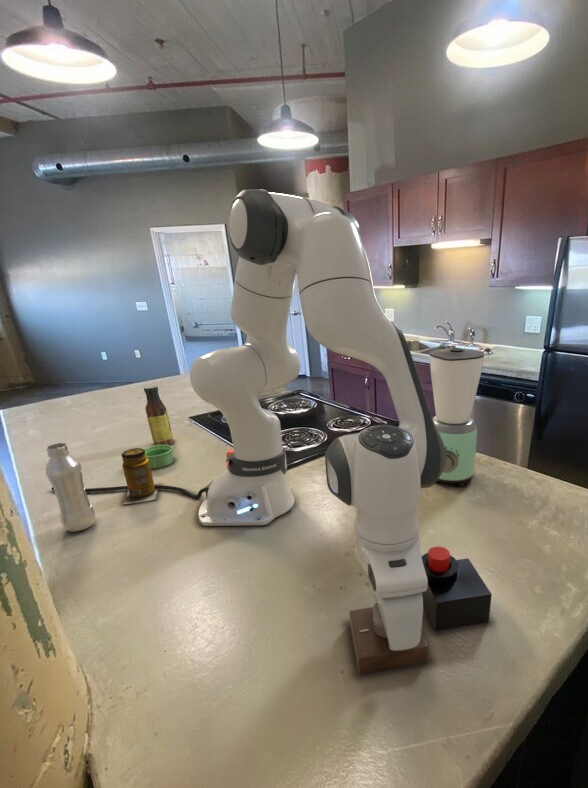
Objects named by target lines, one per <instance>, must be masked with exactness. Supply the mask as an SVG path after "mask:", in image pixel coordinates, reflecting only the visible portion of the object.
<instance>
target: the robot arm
mask: <svg viewBox="0 0 588 788" xmlns="http://www.w3.org/2000/svg"><path fill="white" fill-rule="evenodd" d="M228 234H229V235H228V236H229V240H230V243H231V246H232V248H233V250H234V251H235V252H236V254H237V255H238V260H237V265H236V270H235V274H234V275H235V276H234V284H233V288H232V289H233V290H232V297H231V303H230V304H231V305H230V310H229V311H230V317H231V320H232V322H233V324H234V325H235V327H236V328H237V329H238V330H240V331H241V332H243V333H244V334H246V341H245V342H244V344H242V345H238V346H232V347H227V348H220V349H215V350H213V351H210V352H208V353H205V354H202V355H201V356H198V357H196V358H195V360H194V361H193V362H192V364H191V367H190V372H189V381H190V384H191V386H192V390H193V391H194V393H195V394H196V395H197V396H198V397H199V398H200V400H202V401H204V402H205V403H208V405H209V404H210V405H212V406H213V407H214V408H216V409H217V410H218V411H219V412H220V413H221V414H222V416H223V417H224V418H225V421H226V422H227V425H228V427H229V432H230V436H231V440H232V441H231V442H232V447H233V448H232V449H231V448H230V449H228V450H227V452H226V455H225V457H226V460H225V462H226V463H225V464H226V468H227V469H226V470H225V471H223V472H222V473H221V474H220V475H218V476H217V477H215V478H214V479H213V480H211V481H210V482H209V483H208V484H207V485H206V486H204V487H203V488H201V489H199V491H198V493H197V494H194V493H192V492H190V491H188V490H186V489H184V488H182V487H177V486H173V485H163V484H154V486H155V489H158V490H169V491H175V492H180V493H183V494H184V495H185V496H187V497H190V498H192V499H196V500H197V499H200V498H201V497H202V495H203V493H205V499H204V500H203V501H202V503H201V504H200V506H199V509H198V516H197V517H198V522H199V524H200V525H202V526H204V527H225V526H228V527H229V526H231V527H232V526H233V527H234V526H236V527H237V526H238V527H239V526H266V525H268V524H270V523H271V522H272V521H273V520H274V519H275V518H278V517H281V516H282V515H285V514H286V513H287V512H288V511H290V510H291V509H292V508H293V507H294V505H295V502H296V500H295V499H296V498H295V497H294V495H293V492H292V489H291V487H290V484H289V479H288V474H287V470H288V463H287V454H286V450H285V448H284V446H283V435H282V427H281V421H280V419H279V417H278V416H277V414H275V413H274V412H273V411H270V410H269V409H266V408H262V406H261V404H260V403H261V402H260V401H259V396H260V395H261V394H265V393H268V392H272V391H274V390H279V389H281V388H283V387H285V386H287V385H288V384H290V383H292V382H293V381H295V380H296V379H297V378H298V376H299V374H300V372H301V371H300V370H301V361H300V357H299V354H298V352H297V351H296V349H295V348H294V347H293V346H292V345H291V344H290V342H289V339H288V333H287V332H288V331H287V328H288V322H289V315H290V310H291V306H292V301H293V296H294V291H295V286H296V281H297V288H298V294H299V301H300V308H301V311H302V312H301V313H302V317H303V320H304V324H305V327H306V329H307V331H308V334H310V336H311V337H312V338H313V340H315V341H316V342H317V343H318V344H319V345H321V346H323V347H324V348H326V349H327V350H328V351H331V352H333V353H335V354H339V355H342V356H345V357H349V358H352V359H356V360H359V361H362V362H364V363H366V364H368V365H370V366H372V367H374V368H376V369H377V370H378V371H379V372H380V373H381V374H382V376H383V377H384V380H385V381H386V384H387V388H388V391H389V394H390V397H391V400H392V403H393V406H394V410H395V413H396V415H397V419H398V423H399V424H398V426H396V425H391V424H376V425H372V426H369V427H366V428H364V429H362V430H361V431H360V432H355V433H350V434H349V433H348V434H345V435H342V436H338V437H336V438H334V440H333V441H332V442H331V443H330V444H329V446H328V447H327V450H326V451H325V453H324V462H325V463H324V465H325V477H326V484H327V488H328V490H329V492H330V493H331V494H332V495H333V496H335V498H337V499H338V500H340V501H341V502H342V503H344V504H345V505H347V506H349V507H351V506H352V507H354V510H355V519H354V525H353V529H354V531H353V532H354V554H355V558H356V561H357V562H358V564H359V565H361V567H362V570H363V571H364V572H365V574H366V575H367V577H368V579H369V581H370V584H371V587H372V589H373V593H374V594H373V595H374V598H375V603H378V607H379V610H380V614H381V617H382V621H383V624H384V628H385V631H386V635H387V641H388V644H389V648H390V650H394V651H397V650H406V649H410V648H414V647H416V646H417V645H418V644H419V642H420V638H421V631H422V629H423V616H424V603H423V597H422V592H425V591H427V586H428V580H427V575H426V571H425V568H424V564H423V560H422V557H421V556H422V552H421V539H420V528H421V527H420V519H419V515H418V507H419V504H420V502H421V494H422V493H421V492H422V490H421V489H427V488H432V487H433V486H434V485H435V484H436V483H437V482H438V481H437V480H438V479H439V477H440V476H441V474H442V472H443V470H444V468H445V466H446V462H447V456H446V450H445V446H444V443H443V441H442V439H441V436H440V434H439V432H438V430H437V428H436V426H435V424H434V422H433V420H432V418H433V417H432V414H431V411H430V408H429V405H428V402H427V399H426V396H425V392H424V390H423V387H422V383H421V380H420V376H419V373H418V370H417V367H416V364H415V362H414V358H413V355H412V353H411V350H410V347H409V345H408V342H407V339H406V337H405V335H404V332H403V329H401V326H399V325H398V324H396V323H395V322H393V321H391V320H390V319H389V317H387V315H386V314H385V312H384V310H383V309H382V308H381V305H380V304H379V301H378V300H377V297H376V293H375V290H374V289H375V288H374V285H373V279H372V272H371V269H370V264H369V260H368V256H367V252H366V249H365V246H364V243H363V240H362V236H361V229H360V225H359V222H358V221H357V219H356V217H355V216H354V215H353V214H351V212H348V211H347V210H346V209H344V208H341V207H339V206H336V205H333V206H332V205H330V204H326V203H325V202H322V201H319V200H316V199H313V198H311V197H306V196H296V195H291V194H285V193H278V192H277V193H276V192H269V191H268V190H266V189H262V188H261V189H259V188H251V189H249V188H248V189H243V190H241V191H240V192H239V193H238V194H237V195H236V196H235V198H234V199H233V200H232V202H231V206H230V209H229V215H228ZM51 490H52V491H54V489H53V487H51ZM121 490H123V491H124V490H128V487H127V485H121V486H120V485H119V486H108V487H91V488H85V492H86V493H97V492H112V491H121Z"/></svg>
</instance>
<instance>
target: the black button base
mask: <svg viewBox="0 0 588 788" xmlns="http://www.w3.org/2000/svg"><path fill="white" fill-rule="evenodd" d="M421 557H422V560H423V564H424V568H425V571H426V575H427V580H428V586H427V591H425V592H422V597H423V606H424V607H425V610H426V612H427V614H428V617H429V620H430V623H431V624H432V626H433V629H434V631H435V632H439V631H444V630H450V629H455V628H456V629H457V628H462V627H466V626H474V625H481V624H487V623H489V622H490V615H491V614H490V613H491V606H492V605H491V604H492V592H491V591H490V589H489V588H488V587H487V584H486V583H485V582H484V580H483V579H482V577H481V576H480V574H479V573H478V571H477V570H476V568H475V567H474V565H473V563H472V562H471V560H470V558H468V557H467V558H460V559H456V558H455V557H454V556H452V555H451V554H450V564H449V569H448V570H447V571H446V572H440V573H439V572H434V571H432V570H430V569H429V568H428V565H427V564H428V552H426V553H424V554H423V555H421Z"/></svg>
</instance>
